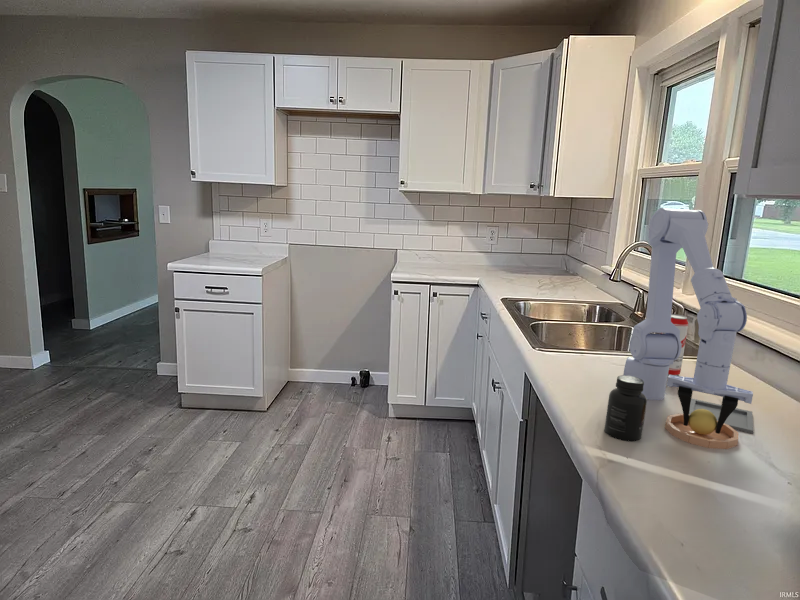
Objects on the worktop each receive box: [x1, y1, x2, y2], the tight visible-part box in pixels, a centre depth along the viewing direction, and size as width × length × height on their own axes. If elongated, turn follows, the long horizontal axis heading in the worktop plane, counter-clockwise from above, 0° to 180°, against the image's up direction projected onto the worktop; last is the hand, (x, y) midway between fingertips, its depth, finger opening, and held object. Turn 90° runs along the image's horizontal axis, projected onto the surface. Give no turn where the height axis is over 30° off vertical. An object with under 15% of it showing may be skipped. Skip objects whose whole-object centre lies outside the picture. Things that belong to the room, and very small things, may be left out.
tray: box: [689, 398, 754, 434], centre depth 119 cm, size 12×12×1 cm
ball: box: [688, 409, 717, 435], centre depth 109 cm, size 5×5×5 cm
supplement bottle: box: [604, 374, 648, 443], centre depth 106 cm, size 7×7×12 cm
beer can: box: [660, 313, 689, 376], centre depth 146 cm, size 6×6×16 cm
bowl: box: [664, 412, 739, 450], centre depth 109 cm, size 13×13×2 cm
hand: (701, 427), depth 109 cm, fingers closed on ball, 5 cm apart
